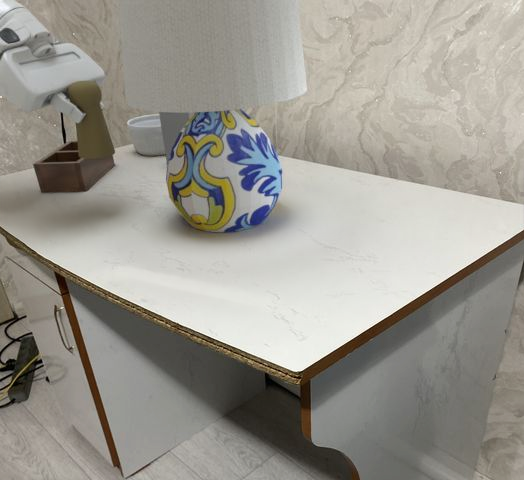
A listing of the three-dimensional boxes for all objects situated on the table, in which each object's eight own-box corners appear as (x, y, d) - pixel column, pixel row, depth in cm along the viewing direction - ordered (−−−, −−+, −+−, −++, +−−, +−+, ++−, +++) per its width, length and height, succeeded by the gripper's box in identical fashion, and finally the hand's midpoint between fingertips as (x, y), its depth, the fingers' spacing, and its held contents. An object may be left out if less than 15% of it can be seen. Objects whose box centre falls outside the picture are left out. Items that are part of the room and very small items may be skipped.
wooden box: (41, 192, 108) (32, 164, 105) (75, 166, 123) (68, 140, 120) (86, 191, 107) (78, 162, 104) (115, 165, 122) (109, 139, 119)
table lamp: (332, 199, 95) (338, -89, 73) (260, 261, 76) (238, -105, 53) (205, 184, 107) (176, -70, 84) (114, 234, 87) (44, -78, 65)
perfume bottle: (195, 169, 116) (184, 77, 105) (167, 168, 118) (153, 77, 107) (208, 160, 121) (198, 71, 110) (181, 159, 123) (168, 71, 112)
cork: (102, 147, 93) (88, 77, 87) (122, 152, 90) (109, 80, 84) (71, 155, 90) (54, 82, 84) (91, 161, 86) (74, 86, 80)
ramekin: (189, 153, 127) (185, 122, 123) (133, 160, 124) (127, 128, 120) (183, 140, 137) (179, 111, 133) (131, 146, 135) (125, 117, 131)
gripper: (56, 54, 93) (116, 116, 96) (-30, 73, 78) (45, 145, 80) (72, 24, 90) (134, 89, 92) (-15, 37, 74) (63, 114, 77)
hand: (92, 115), depth 86 cm, fingers closed on cork, 4 cm apart
